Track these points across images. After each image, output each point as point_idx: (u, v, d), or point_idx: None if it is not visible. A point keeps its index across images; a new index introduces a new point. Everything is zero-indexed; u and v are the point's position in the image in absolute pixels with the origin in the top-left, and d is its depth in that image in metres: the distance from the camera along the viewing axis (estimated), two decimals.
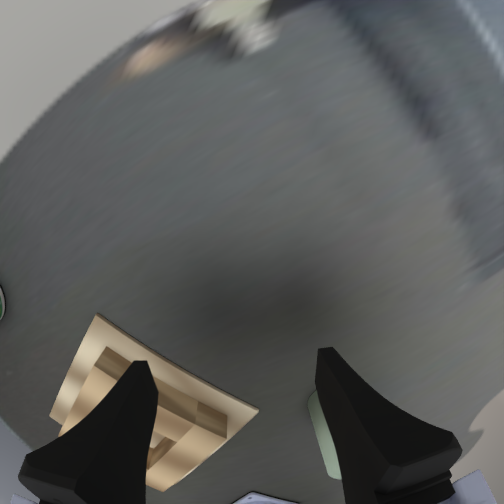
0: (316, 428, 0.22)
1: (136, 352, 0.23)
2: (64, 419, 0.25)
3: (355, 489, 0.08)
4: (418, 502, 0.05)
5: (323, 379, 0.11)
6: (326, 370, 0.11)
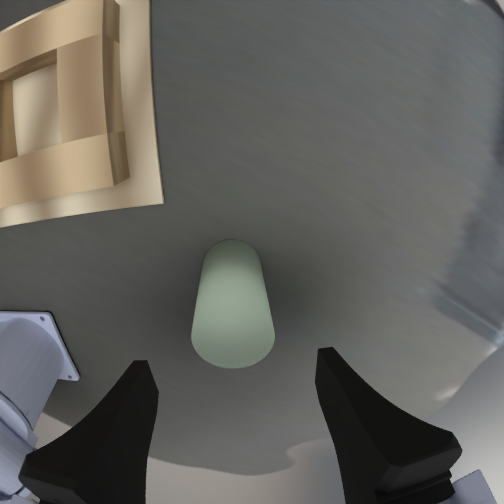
0: (212, 268, 0.18)
1: (137, 31, 0.15)
2: None
3: (355, 489, 0.07)
4: (418, 502, 0.05)
5: (323, 379, 0.11)
6: (326, 370, 0.11)
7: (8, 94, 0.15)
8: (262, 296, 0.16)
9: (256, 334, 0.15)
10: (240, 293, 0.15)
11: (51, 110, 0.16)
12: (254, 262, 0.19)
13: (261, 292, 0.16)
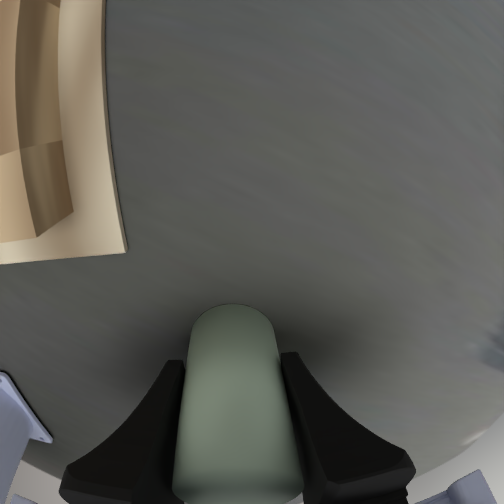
0: (202, 366, 0.11)
1: None
2: None
3: (309, 498, 0.07)
4: None
5: (285, 384, 0.11)
6: (286, 375, 0.11)
7: None
8: (285, 426, 0.09)
9: (275, 488, 0.07)
10: (250, 439, 0.07)
11: None
12: (268, 348, 0.12)
13: (283, 417, 0.09)
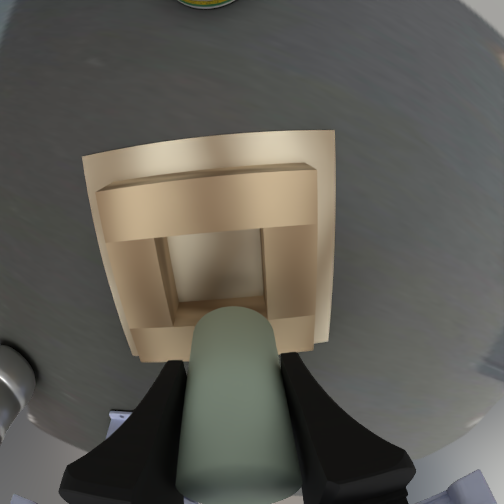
0: (197, 371, 0.11)
1: (323, 198, 0.20)
2: (102, 178, 0.18)
3: (309, 498, 0.07)
4: None
5: (285, 384, 0.11)
6: (286, 375, 0.11)
7: (165, 240, 0.19)
8: (276, 421, 0.09)
9: (273, 482, 0.08)
10: (237, 437, 0.08)
11: (226, 264, 0.21)
12: (261, 345, 0.12)
13: (274, 412, 0.09)
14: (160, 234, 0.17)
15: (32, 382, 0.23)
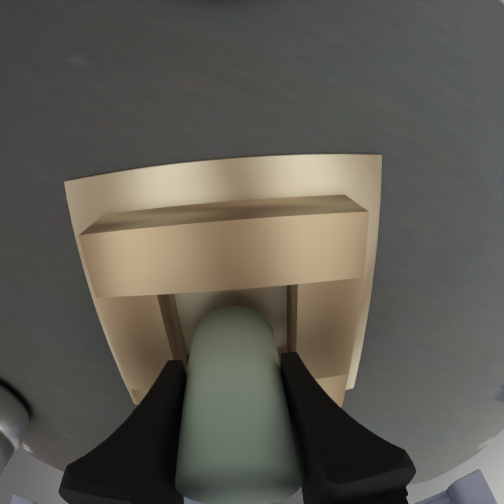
0: (196, 371, 0.11)
1: None
2: (89, 210, 0.14)
3: (309, 499, 0.07)
4: None
5: (285, 384, 0.11)
6: (286, 375, 0.11)
7: None
8: (276, 421, 0.09)
9: (273, 482, 0.08)
10: (237, 437, 0.08)
11: None
12: (261, 345, 0.12)
13: (274, 412, 0.09)
14: (165, 290, 0.13)
15: (25, 421, 0.19)
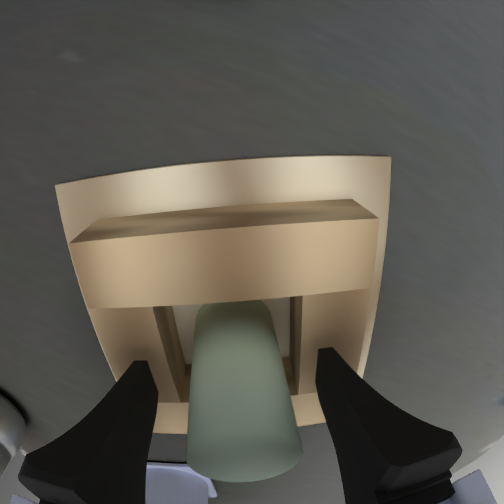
0: (202, 352, 0.12)
1: None
2: (81, 215, 0.13)
3: (355, 489, 0.07)
4: (418, 502, 0.05)
5: (323, 379, 0.11)
6: (326, 370, 0.11)
7: None
8: (278, 395, 0.10)
9: (277, 453, 0.09)
10: (244, 408, 0.09)
11: None
12: (261, 328, 0.13)
13: (276, 387, 0.10)
14: (161, 302, 0.12)
15: (22, 429, 0.18)
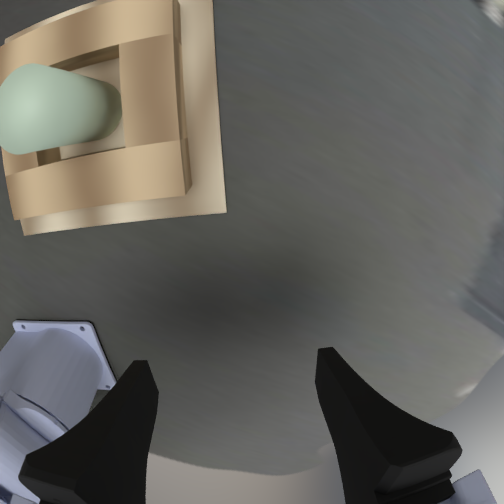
0: None
1: (200, 34, 0.15)
2: None
3: (354, 489, 0.07)
4: (418, 502, 0.05)
5: (323, 379, 0.11)
6: (326, 370, 0.11)
7: None
8: (66, 73, 0.10)
9: (40, 93, 0.09)
10: None
11: None
12: (95, 79, 0.14)
13: (69, 73, 0.11)
14: None
15: None
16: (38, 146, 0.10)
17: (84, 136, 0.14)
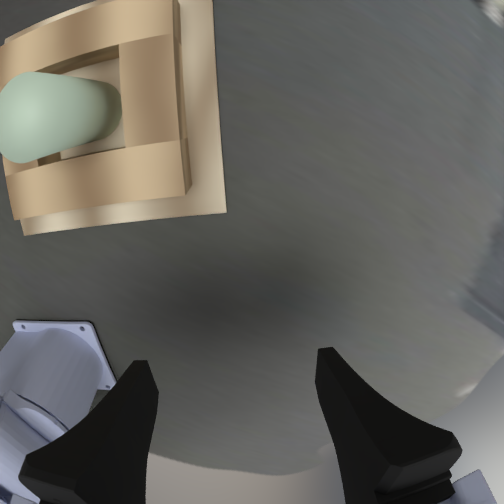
0: None
1: (200, 34, 0.15)
2: None
3: (355, 489, 0.07)
4: (418, 502, 0.05)
5: (323, 379, 0.11)
6: (326, 370, 0.11)
7: None
8: (67, 79, 0.11)
9: (40, 103, 0.09)
10: None
11: None
12: (95, 82, 0.14)
13: (69, 79, 0.11)
14: (36, 68, 0.12)
15: None
16: (39, 156, 0.10)
17: (84, 140, 0.14)
